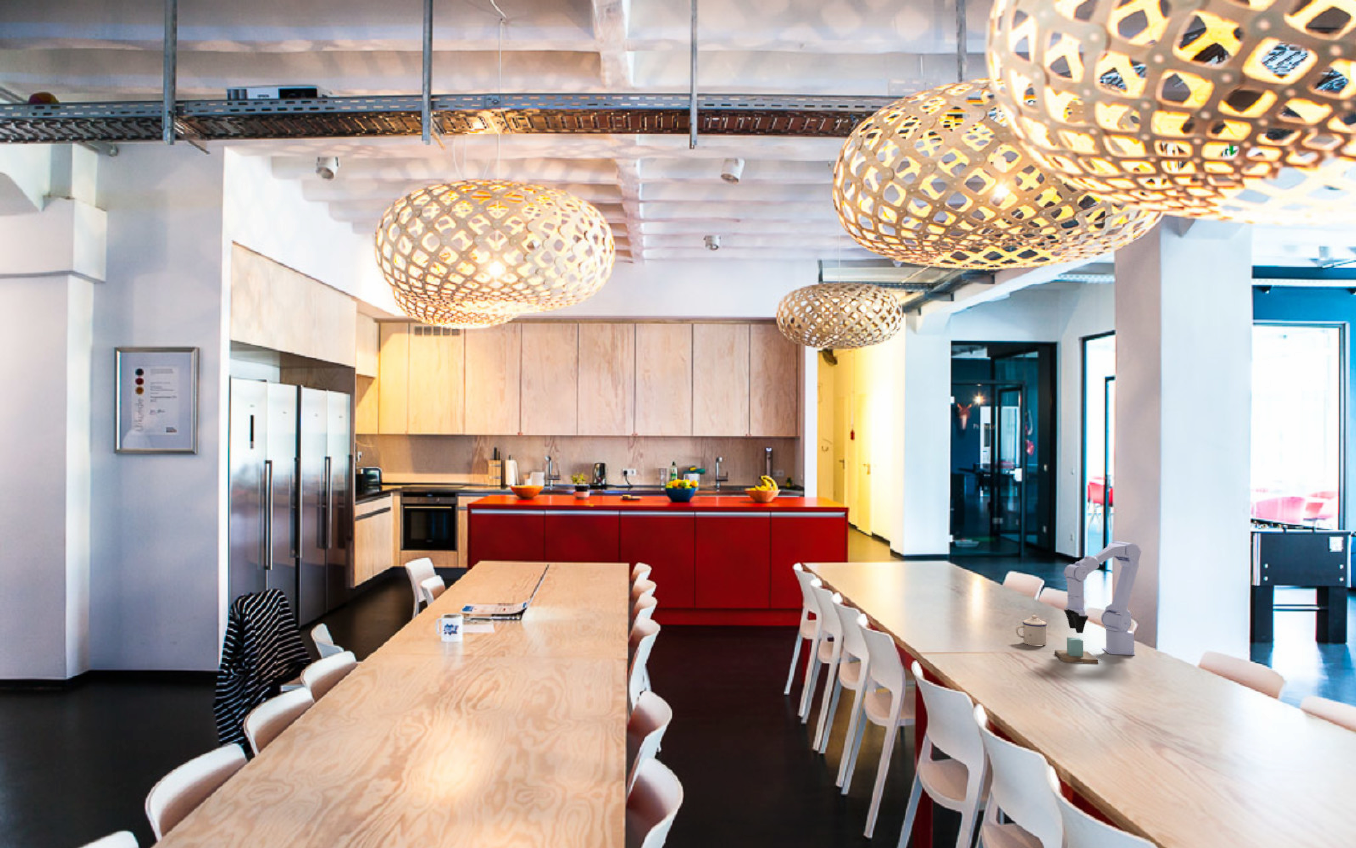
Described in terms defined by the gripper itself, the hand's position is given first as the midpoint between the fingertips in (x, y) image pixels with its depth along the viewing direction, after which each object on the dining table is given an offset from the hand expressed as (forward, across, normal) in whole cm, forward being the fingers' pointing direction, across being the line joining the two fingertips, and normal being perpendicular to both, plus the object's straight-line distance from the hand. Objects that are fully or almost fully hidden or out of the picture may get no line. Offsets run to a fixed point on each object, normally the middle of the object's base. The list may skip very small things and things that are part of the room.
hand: (1076, 630), depth 307 cm
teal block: (+8, +5, -2) cm, 10 cm away
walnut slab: (+10, +5, -2) cm, 11 cm away
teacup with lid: (+10, -16, -12) cm, 23 cm away
